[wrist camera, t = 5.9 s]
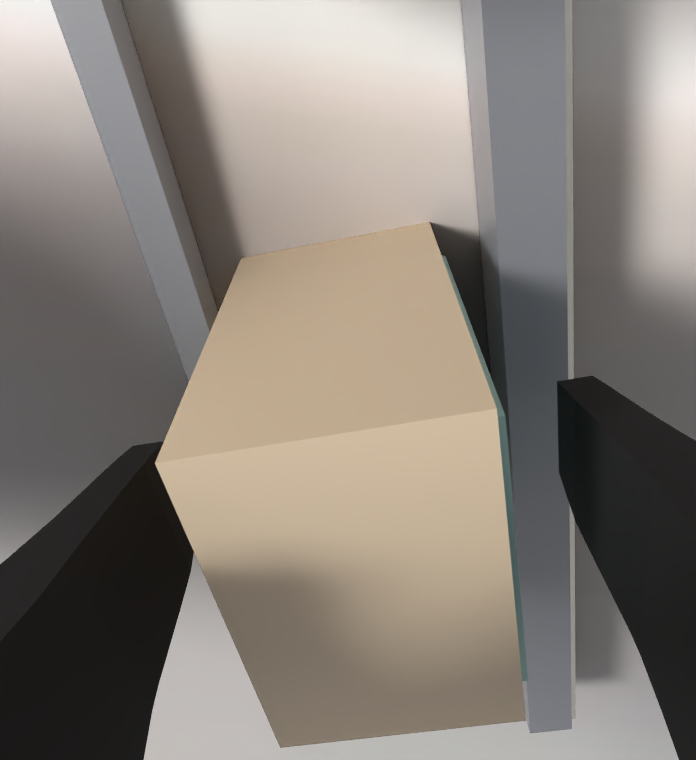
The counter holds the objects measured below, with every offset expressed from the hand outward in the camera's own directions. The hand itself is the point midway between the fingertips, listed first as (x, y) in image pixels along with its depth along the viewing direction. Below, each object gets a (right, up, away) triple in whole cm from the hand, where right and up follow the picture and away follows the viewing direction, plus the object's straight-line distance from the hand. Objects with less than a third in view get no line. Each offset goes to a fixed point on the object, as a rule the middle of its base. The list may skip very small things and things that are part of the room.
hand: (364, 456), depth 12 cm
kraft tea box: (0, +2, +3) cm, 4 cm away
